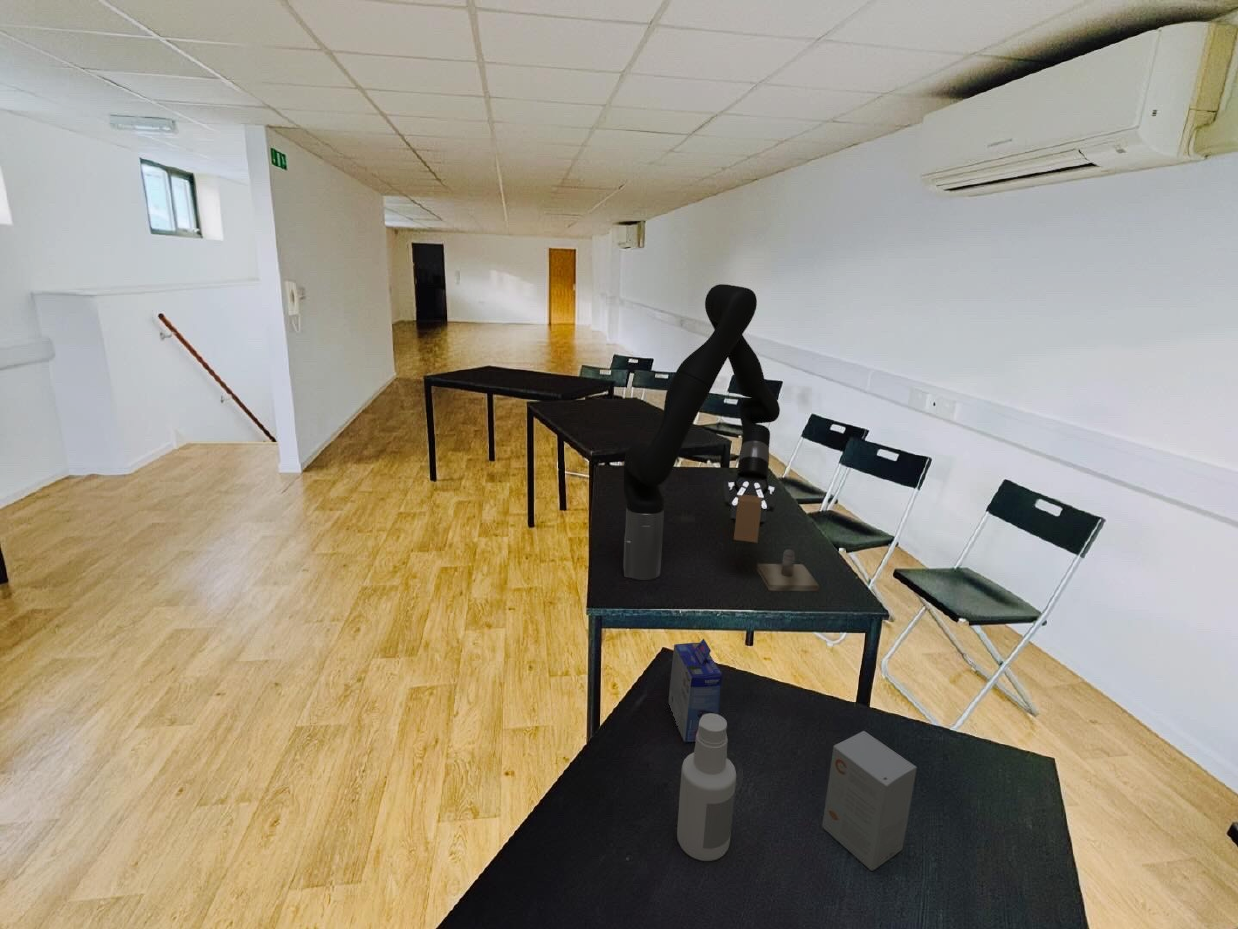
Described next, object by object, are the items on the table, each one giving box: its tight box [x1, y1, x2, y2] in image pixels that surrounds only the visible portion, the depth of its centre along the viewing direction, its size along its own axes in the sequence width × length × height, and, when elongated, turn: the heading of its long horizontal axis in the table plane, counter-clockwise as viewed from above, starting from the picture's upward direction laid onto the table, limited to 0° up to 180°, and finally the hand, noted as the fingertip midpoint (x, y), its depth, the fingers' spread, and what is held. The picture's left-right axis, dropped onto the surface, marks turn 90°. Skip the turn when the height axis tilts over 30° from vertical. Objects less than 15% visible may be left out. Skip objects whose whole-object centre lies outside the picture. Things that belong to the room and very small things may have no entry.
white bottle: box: [676, 713, 737, 862], centre depth 80 cm, size 7×7×18 cm
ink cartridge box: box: [667, 638, 723, 743], centre depth 103 cm, size 10×6×14 cm, turn 12°
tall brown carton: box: [733, 494, 762, 543], centre depth 153 cm, size 6×6×10 cm
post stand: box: [756, 548, 820, 592], centre depth 157 cm, size 12×12×8 cm
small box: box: [821, 730, 917, 872], centre depth 82 cm, size 8×6×13 cm
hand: (747, 523), depth 152 cm, fingers closed on tall brown carton, 5 cm apart
